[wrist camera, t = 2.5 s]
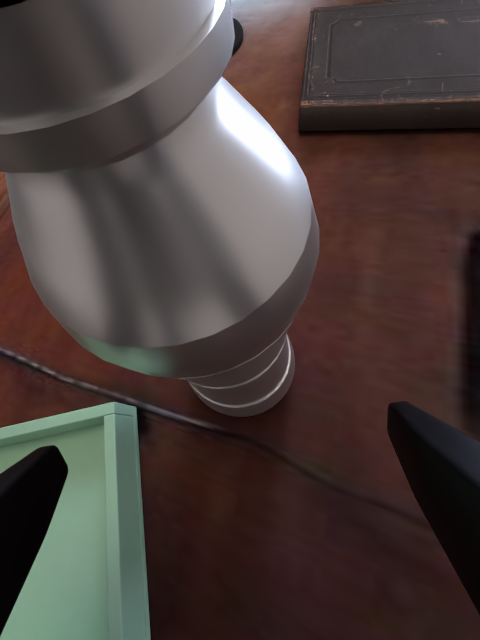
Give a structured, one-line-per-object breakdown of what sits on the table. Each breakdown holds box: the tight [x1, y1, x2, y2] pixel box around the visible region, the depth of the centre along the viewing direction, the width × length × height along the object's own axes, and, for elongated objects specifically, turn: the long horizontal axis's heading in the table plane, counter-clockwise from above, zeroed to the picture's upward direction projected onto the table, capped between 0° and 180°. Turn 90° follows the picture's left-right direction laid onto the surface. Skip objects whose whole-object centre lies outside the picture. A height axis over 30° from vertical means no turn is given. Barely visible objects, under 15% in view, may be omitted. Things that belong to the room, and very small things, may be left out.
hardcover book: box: [299, 0, 480, 131], centre depth 28 cm, size 16×23×2 cm
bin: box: [0, 402, 151, 640], centre depth 17 cm, size 12×12×3 cm
